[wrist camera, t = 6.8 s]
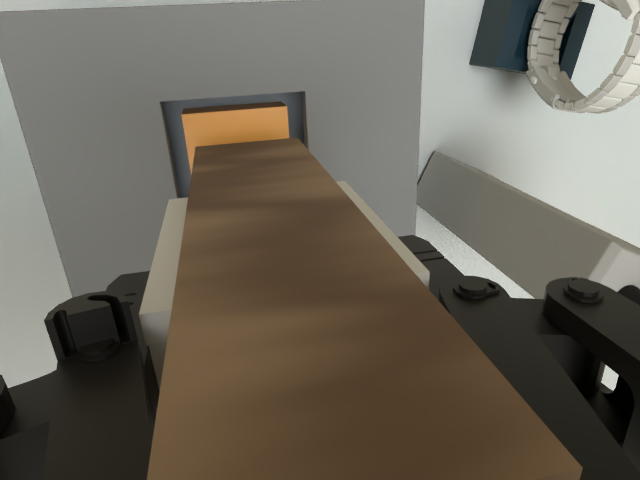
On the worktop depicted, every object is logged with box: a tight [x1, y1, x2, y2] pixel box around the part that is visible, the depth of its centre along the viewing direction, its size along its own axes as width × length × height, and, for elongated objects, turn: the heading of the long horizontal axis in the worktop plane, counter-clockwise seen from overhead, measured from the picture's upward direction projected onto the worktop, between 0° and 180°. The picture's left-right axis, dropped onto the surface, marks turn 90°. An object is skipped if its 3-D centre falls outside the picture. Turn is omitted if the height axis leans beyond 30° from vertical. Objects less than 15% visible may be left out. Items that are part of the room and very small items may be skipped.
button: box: [181, 101, 289, 174], centre depth 24 cm, size 5×5×2 cm
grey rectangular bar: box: [416, 152, 640, 305], centre depth 23 cm, size 4×5×25 cm
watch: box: [470, 0, 640, 113], centre depth 26 cm, size 6×8×11 cm
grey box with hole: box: [0, 0, 425, 298], centre depth 26 cm, size 18×14×8 cm
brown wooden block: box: [147, 138, 583, 480], centre depth 12 cm, size 4×4×16 cm
